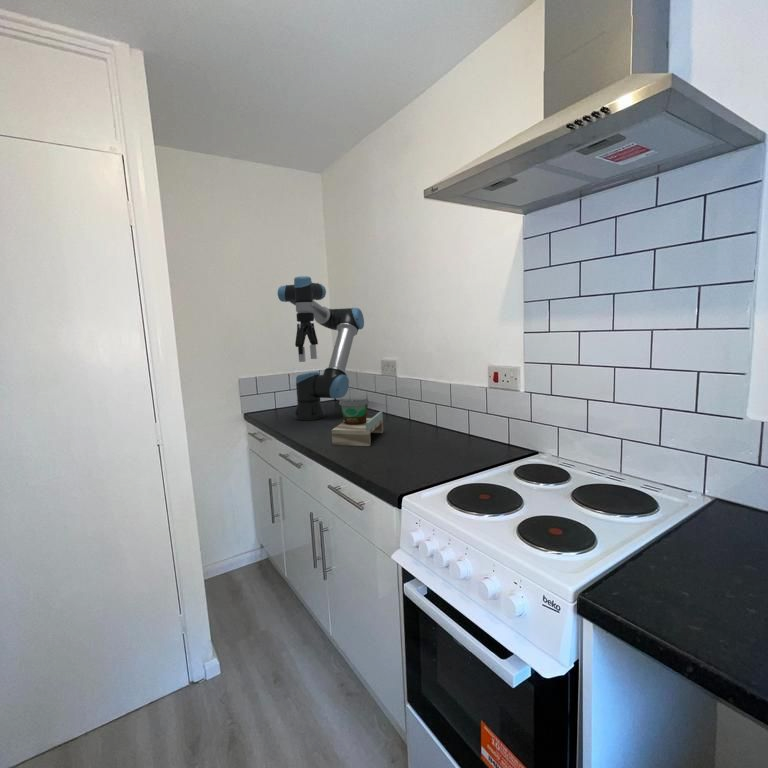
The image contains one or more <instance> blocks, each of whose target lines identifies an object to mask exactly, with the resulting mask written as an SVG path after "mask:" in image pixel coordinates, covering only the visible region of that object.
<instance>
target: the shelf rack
mask: <svg viewBox="0 0 768 768" xmlns="http://www.w3.org/2000/svg"><path fill="white" fill-rule="evenodd" d="M383 419H384V416H383V411H381V410H380V411H379V412H377V413H376V414H374V416H372V417H367V419H366V423H364V424H359V425H347V424H344V421H342V422H341V423H340V424H338V425H336V426H335V427H334V428H333V429H331V445H332V446H349V447H350V446H353V447H370V446H371V445H372V443H371V434H383V433H384V420H383Z"/></svg>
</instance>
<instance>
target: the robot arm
mask: <svg viewBox="0 0 768 768" xmlns="http://www.w3.org/2000/svg"><path fill="white" fill-rule="evenodd" d="M293 280H294V281H293V284H285V285H281V286H279V287H278V289H277V296H278V300H280V302H284V303H287V302H288V303H290V304H292V305H294V306H295V312H296V321H297V322H299V323H297V324H296V335H295V344H294V345H295V347H296V348H297V351H298V353H297V355H298V362H299V363H301V362H302V363H304V362H305V363H306V349H305V341H306V337H307V339H308V340H309V343H310V345H309V351H310V360H317V359H318V356H317V353H318V352H317V345H318V344H319V343H318V337H317V333H316V329H315V323H314V322H313V321H315V322H316V323H317V324H319V325H320V326H323V327H324V328H327V329H329V330H334V331H337V336H336V339H335V342H334V346H333V350H332V354H331V358H330V361H329V364H328V367H326V368H325V369H324V371H323V374H320V372H319V371H314V372H313V371H311V372H307V373H301V374H298V375H297V376H296V377H295V385H296V388H295V389H296V401H297V404H296V408H295V412H294V419H295V420H298V421H314V420H321V419H322V418H325V417H326V416H325V410H324V408H323V405H322V403H321V399H342V398H344V397H345V396H346V394H347V393H348V392H349V388H350V384H349V383H350V380H349V377H348V375H347V373H346V368H347V364H348V360H349V357H350V353H351V352H350V351H351V348H352V345H353V340H354V337H356V336H357V335H358V332H359V330H362V329H363V328H364V327H365V318H364V314H363V312H362V310H361V308H359V307H351V308H350V307H349V308H328V307H326V306H322V305H321V304H320V303H318V302H317V301H321V300H323V299H324V298H325V297H326V295H327V290H326V287H325V286H324V285H323V284H322V283H319V282H312V278H311V277H310V276H307V275H306V276H304V275H301V276H295V277H294V279H293Z"/></svg>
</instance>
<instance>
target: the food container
mask: <svg viewBox="0 0 768 768" xmlns="http://www.w3.org/2000/svg"><path fill="white" fill-rule="evenodd" d="M339 399H340V400H339V402H338V404H339V405H340V407H341V414H342V415H341V416H342V419H343V421H342V422H344V424H347V425H359V424H364V423H366V419H367V418H368V416H367V415H368V405H369V404H370V401H369V399H368V397H367V398H364V399H350V400H343V399H342V398H339Z"/></svg>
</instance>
